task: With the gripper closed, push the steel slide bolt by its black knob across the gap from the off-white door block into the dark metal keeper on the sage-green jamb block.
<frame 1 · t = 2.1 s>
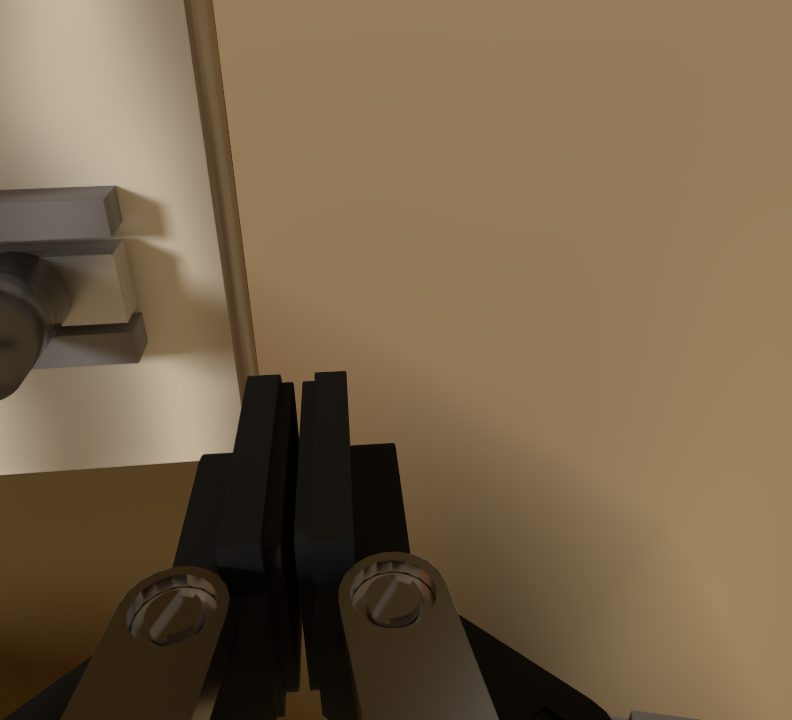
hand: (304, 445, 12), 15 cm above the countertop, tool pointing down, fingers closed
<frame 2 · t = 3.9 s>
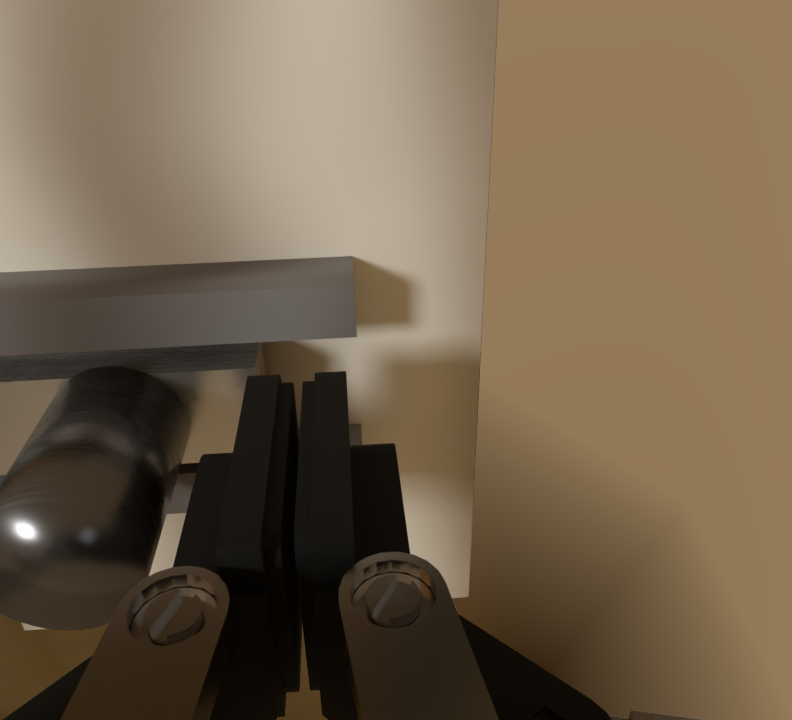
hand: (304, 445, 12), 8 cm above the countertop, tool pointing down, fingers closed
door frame: (66, 275, 18), on the countertop
bolt: (10, 469, 12), point 8 cm above the countertop, slide at 1.8 cm, touching gripper
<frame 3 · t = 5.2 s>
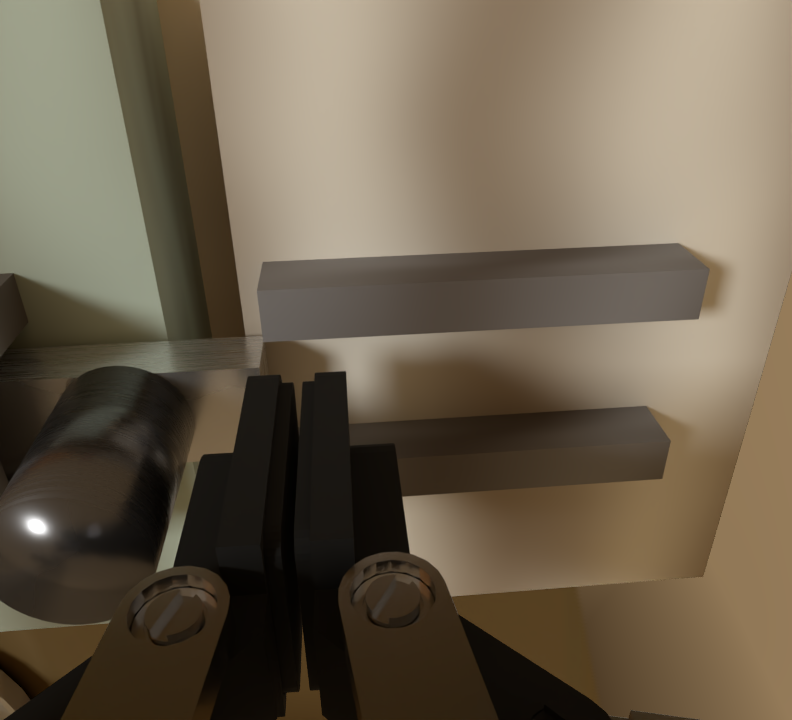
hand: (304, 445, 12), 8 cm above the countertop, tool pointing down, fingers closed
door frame: (306, 266, 19), on the countertop
bolt: (18, 467, 12), point 8 cm above the countertop, slide at 8.1 cm, touching gripper
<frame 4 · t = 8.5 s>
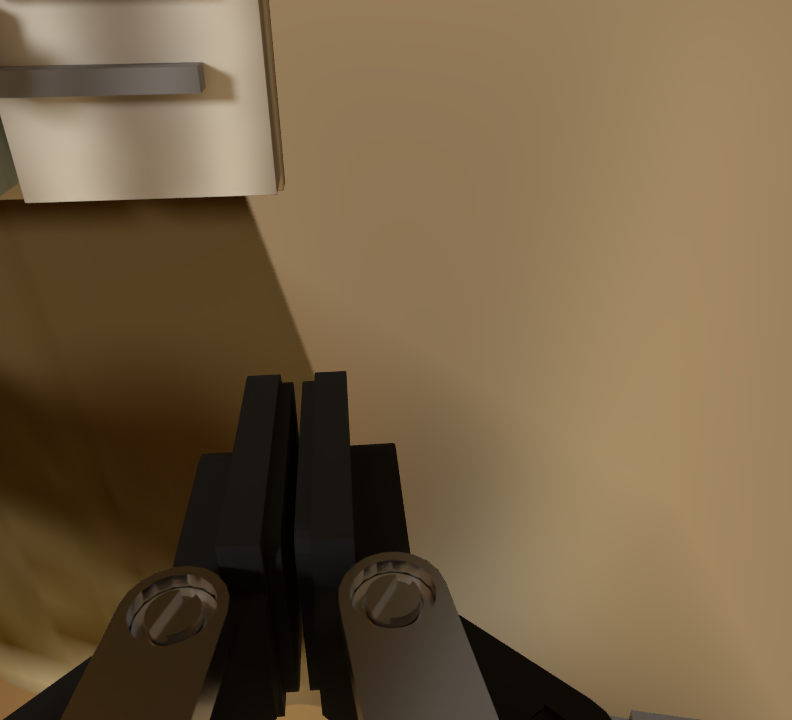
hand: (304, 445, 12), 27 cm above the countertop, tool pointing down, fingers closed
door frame: (50, 16, 32), on the countertop
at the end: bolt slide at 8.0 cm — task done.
